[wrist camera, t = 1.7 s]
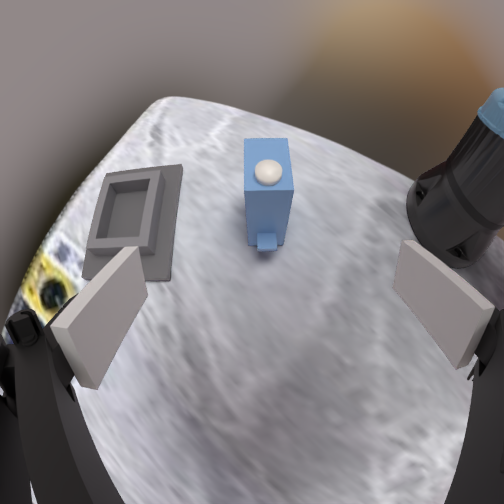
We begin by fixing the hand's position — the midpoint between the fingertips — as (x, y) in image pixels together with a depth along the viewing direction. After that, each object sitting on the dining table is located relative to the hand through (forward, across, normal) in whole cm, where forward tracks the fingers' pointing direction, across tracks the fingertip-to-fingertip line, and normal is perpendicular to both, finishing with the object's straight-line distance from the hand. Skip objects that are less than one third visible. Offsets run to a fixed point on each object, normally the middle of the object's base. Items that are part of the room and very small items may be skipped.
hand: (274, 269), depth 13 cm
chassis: (+21, -16, -3) cm, 27 cm away
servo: (+20, +1, -4) cm, 21 cm away
